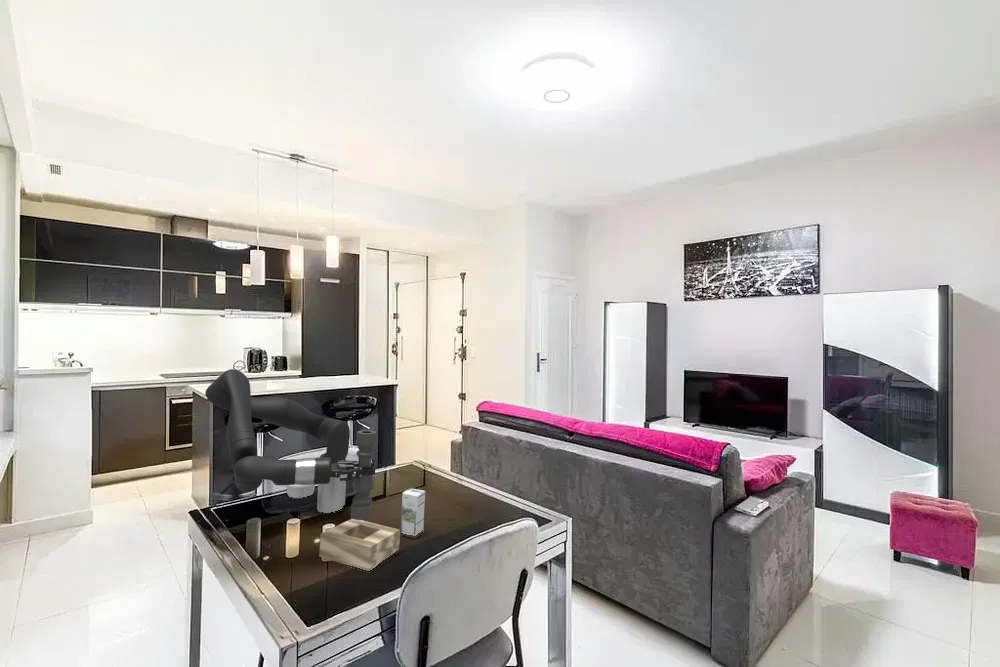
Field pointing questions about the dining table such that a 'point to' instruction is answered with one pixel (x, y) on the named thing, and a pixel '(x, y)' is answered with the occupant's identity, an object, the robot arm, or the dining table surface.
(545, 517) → the dining table surface
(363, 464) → the candle holder
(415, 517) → the syrup box
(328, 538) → the socket block
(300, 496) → the ramekin
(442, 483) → the dining table surface
